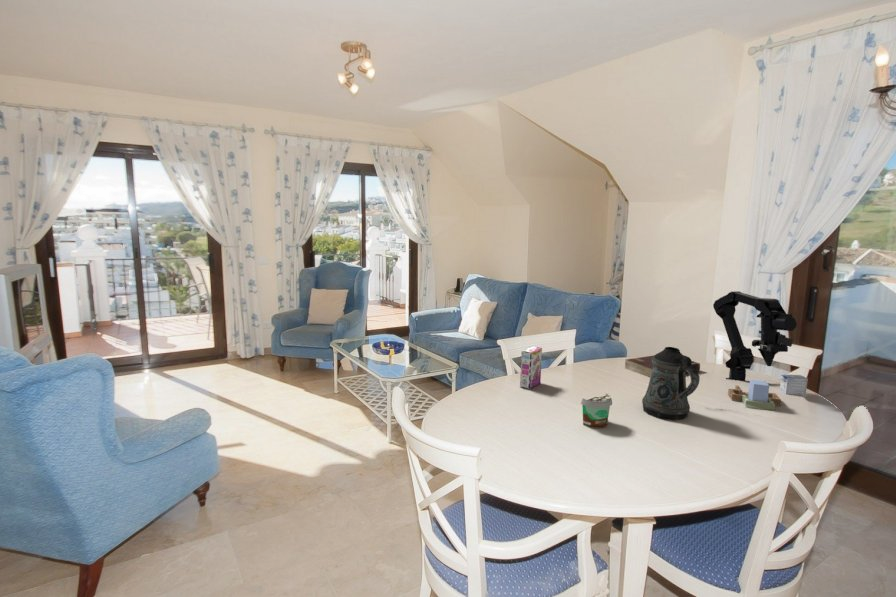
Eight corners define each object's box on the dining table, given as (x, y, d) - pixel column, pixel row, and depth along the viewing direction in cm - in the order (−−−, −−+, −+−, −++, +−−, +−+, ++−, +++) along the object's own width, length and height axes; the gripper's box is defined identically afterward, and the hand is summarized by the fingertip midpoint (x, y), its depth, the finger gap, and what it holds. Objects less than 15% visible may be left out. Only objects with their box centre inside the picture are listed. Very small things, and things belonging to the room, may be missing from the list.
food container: (592, 432, 164) (594, 404, 162) (579, 425, 169) (581, 398, 168) (618, 425, 169) (620, 398, 168) (605, 419, 175) (607, 392, 173)
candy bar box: (530, 389, 206) (531, 352, 203) (519, 387, 208) (520, 350, 206) (541, 383, 215) (542, 347, 212) (531, 380, 217) (532, 345, 215)
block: (747, 401, 189) (750, 379, 188) (762, 403, 187) (764, 380, 186) (751, 406, 183) (753, 384, 182) (766, 408, 182) (769, 385, 180)
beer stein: (647, 400, 193) (651, 340, 189) (701, 411, 182) (706, 347, 178) (636, 413, 180) (641, 349, 176) (694, 426, 169) (700, 357, 165)
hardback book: (655, 380, 220) (655, 369, 220) (624, 369, 237) (625, 359, 237) (699, 372, 232) (700, 362, 231) (667, 362, 249) (668, 353, 248)
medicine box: (798, 394, 201) (801, 374, 200) (805, 398, 197) (808, 378, 195) (778, 394, 202) (781, 374, 201) (785, 397, 198) (787, 377, 196)
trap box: (724, 393, 202) (725, 384, 202) (770, 398, 197) (771, 388, 196) (734, 409, 184) (735, 399, 184) (784, 415, 179) (786, 405, 178)
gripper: (802, 331, 189) (802, 370, 190) (779, 326, 208) (779, 362, 208) (771, 331, 192) (771, 370, 192) (751, 326, 210) (751, 362, 210)
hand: (769, 366), depth 201 cm, fingers closed
